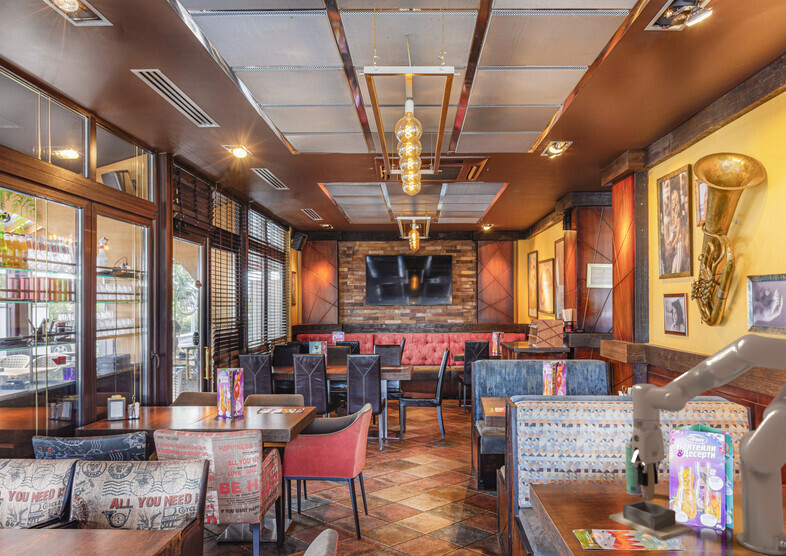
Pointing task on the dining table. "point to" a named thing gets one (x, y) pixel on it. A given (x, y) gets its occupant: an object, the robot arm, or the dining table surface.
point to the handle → (649, 481)
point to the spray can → (631, 473)
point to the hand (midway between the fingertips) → (647, 483)
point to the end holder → (650, 519)
